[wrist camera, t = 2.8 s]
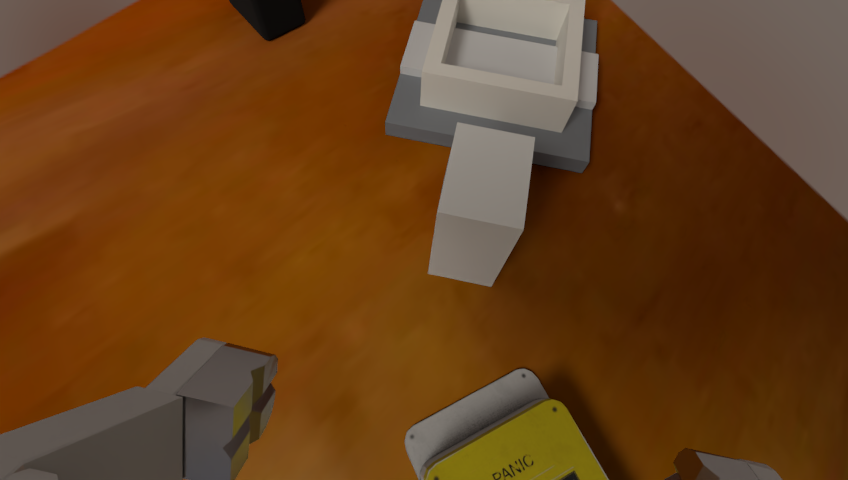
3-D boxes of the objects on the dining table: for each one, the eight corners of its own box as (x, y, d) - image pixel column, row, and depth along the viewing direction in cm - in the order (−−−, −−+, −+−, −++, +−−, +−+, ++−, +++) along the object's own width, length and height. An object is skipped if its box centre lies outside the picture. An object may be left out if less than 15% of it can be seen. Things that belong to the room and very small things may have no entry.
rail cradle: (590, 34, 41) (613, -16, 37) (582, 173, 35) (608, 132, 30) (425, 4, 42) (428, -48, 38) (385, 134, 35) (383, 89, 31)
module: (502, 213, 33) (536, 137, 25) (491, 287, 30) (524, 229, 22) (443, 200, 33) (456, 121, 25) (427, 273, 31) (436, 211, 22)
